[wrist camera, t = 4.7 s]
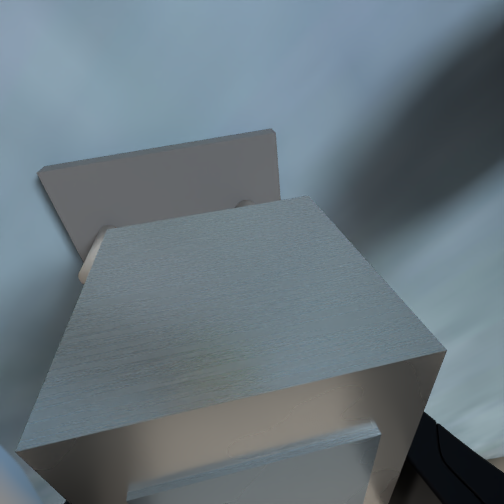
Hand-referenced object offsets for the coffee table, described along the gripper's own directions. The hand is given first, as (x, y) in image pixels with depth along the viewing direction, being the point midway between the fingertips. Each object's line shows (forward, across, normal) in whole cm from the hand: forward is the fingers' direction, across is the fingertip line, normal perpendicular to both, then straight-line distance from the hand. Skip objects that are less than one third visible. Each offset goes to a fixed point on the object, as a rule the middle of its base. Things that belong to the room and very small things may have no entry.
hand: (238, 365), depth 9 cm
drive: (+1, 0, 0) cm, 1 cm away
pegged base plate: (+12, +2, +4) cm, 12 cm away
